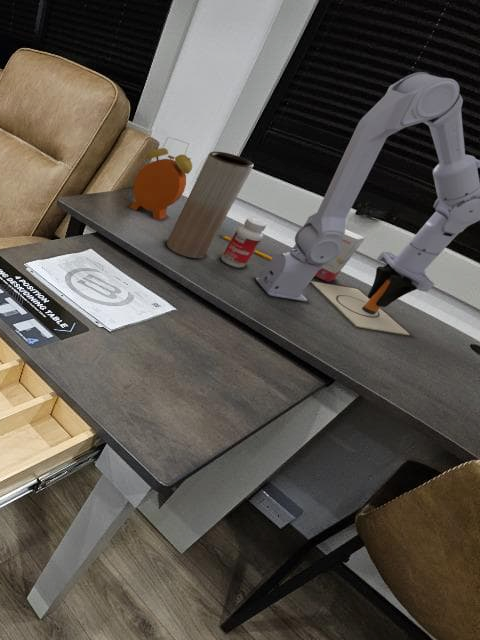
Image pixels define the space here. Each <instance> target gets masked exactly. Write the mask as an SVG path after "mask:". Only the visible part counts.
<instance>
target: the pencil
mask: <svg viewBox="0 0 480 640" xmlns="http://www.w3.org/2000/svg"><path fill="white" fill-rule="evenodd" d="M222 239H223V240H225V241H226V240H227V241H228V242H230V241H231V239H232V237H229V236H227V235H223V236H222ZM253 254H256V255H258V256H260V257H262V258H264V259H267V260H269V261H270V260H271V259H272V258H273V257H272V256H270V255H267V254H265V253H263V252H261V251H259V250H256V249H255V251H254V253H253Z"/></svg>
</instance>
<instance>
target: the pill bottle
mask: <svg viewBox="0 0 480 640" xmlns="http://www.w3.org/2000/svg"><path fill="white" fill-rule="evenodd" d="M243 224H244V225H242V226H239V227H238V228H237V229H236V230H235V233H234V234H233V236H232V237H231V241H229V243H228V244H227V246H226V247H225V250H224V251H223V253H222V255H221V257H220V258H221V261H222V262H224V263H225V264H227V265H228V266H231V267H234V268H240V269H241V268H244V267H246V265H247V263H248V262H249V260H250V259H251V258H252V256H253V254H255V253H254V251H255V250H256V249H257V248H258V246H259V245H260V243H261V242H262V240H263V237H264V234H263V233H262V232H264V231H265V229H266V227H267V223H266V222H265V221H263V220H261V219H259V218H255V217H247V218H246V220H245V221H244V223H243Z"/></svg>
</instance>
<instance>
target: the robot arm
mask: <svg viewBox="0 0 480 640" xmlns="http://www.w3.org/2000/svg"><path fill="white" fill-rule="evenodd" d="M463 102H464V99H463V97H462V95H461V94H460V85H459V83H458V81H456V80H455V79H453V78H449V77H440V76H436V75H432V74H429V73H428V72H424V71H423V72H422V71H418V72H414V73H412V74H409V75H406V76H405V77H404V78H401V79H399V80H398V81H396V82H394V83H393V84H391V85H389V87H388V89H387V91H386V92H385V95H384V96H383V97H382V98H380V100H378V101H377V103H375V105H373V107H371V109H370V110H369V111H368V112H366V113H365V115H363V116H362V118H360V120H359V122H358V123H357V125H356V127H355V130H354V132H353V134H352V136H351V139H350V141H349V143H348V145H347V147H346V149H345V151H344V153H343V156H342V157H341V160H340V162H339V164H338V166H337V168H336V171H335V172H334V175H333V177H332V179H331V181H330V184H329V185H328V188H327V190H326V193H325V194H324V197H323V199H322V201H321V203H320V205H319V207H318V210H317V212H316V213H313V214H312V215H309V216H308V217H307V220H306V221H305V223H304V225H302V226H301V228H299V230H298V231H297V232H296V233H295V236H294V243H295V244H294V245H293V247H291V250H290V251H288V252H278V253H276V254H275V255H274V256H272V257H271V258H272V259H271V260H269V262H268V263H267V265H266V266H265V268H263V270H262V272H261V274H260V275H259V277H255V281H256V282H257V284H258V285H260V286H261V288H262V289H263V290H264V292H266V293H267V295H269V296H270V297H276V298H282V299H288V300H294V301H299V302H307V301H308V299H307V297H305V295H303V292H304V291H305V290H306V288H308V285H310V284H311V281H312V280H313V279H314V277H316V276H315V275H316V273H317V272H318V271H319V269H320V268H321V267H322V266H323V265H324V264H325V263H328V262H330V261H332V260H334V259H335V258H336V257H337V256H338V255H339V254H340V252H341V249H342V238H343V236H344V234H345V229H346V219H347V217H348V216H349V213H350V211H351V209H352V208H353V206H354V203H355V201H356V199H357V198H358V195H359V194H360V191H362V188H363V185H364V184H365V182H366V180H367V179H368V176H369V174H370V172H371V170H372V168H373V166H374V164H375V162H376V160H377V159H378V156H379V154H380V152H381V150H382V148H383V146H384V144H385V142H386V140H387V139H388V138H389V136H391V135H393V134H395V133H397V132H399V131H401V130H403V129H405V128H407V127H411V126H415V125H418V124H421V123H423V124H425V125H426V126H428V128H429V131H430V134H431V138H432V141H433V145H434V148H435V151H436V154H437V159H438V164H437V165H435V167H434V168H433V169H432V177H433V181H434V187H435V190H436V196H437V199H436V200H435V202H434V204H433V209H434V210H435V212H434V213H433V214H432V215H431V216H430V217H429V218H428V220H427V221H426V222H425V223H424V225H423V226H422V227H420V229H419V230H418V232H417V233H415V235H414V236H413V238H411V240H410V241H409V242H408V243H407V244H406V246H405V247H403V249H402V250H401V251H400V252H399V253H398V255H395V254H394V253H392V252H389V251H383V250H382V251H381V253H380V254H379V255H378V257H376V260H378V261H379V262H382V263H383V264H385V265H384V266H381V265H379V266H377V268H375V269H376V270H375V277H374V281H373V283H372V286H371V288H370V290H369V292H368V294H367V295H366V297H368V298H369V299H370V298H371V297H372V296H373V295H374V294H375V293H376V291H377V290H378V289H379V288H380V287H381V286H382V285H383V284H384V282H385V281H386V280H387V279H388V277H389V276H390V275H392V274H393V275H397V276H400V277H402V278H399V277H392V278H391V281H390V284H389V286H388V288H387V289H386V291H385V292H384V294H383V295H382V296H381V297H380V298H379V300H378V301H377V303H376V305H377V306H381V308H387V307H388V306H389V305H391V304H392V303H393V302H395V301H396V300H398V299H400V298H402V296H405V295H407V294H409V293H411V292H414V291H416V290H418V291H421V292H427V293H428V292H429V291H430V290H431V289H433V287H434V286H435V285H436V283H434V281H432V280H431V279H430V278H429V277H428V276H427V274H426V273H427V271H426V269H427V268H428V267H429V266H430V265H431V264H432V263H433V262H434V260H436V258H437V257H438V256H439V255H440V254H441V253H442V252H443V251H444V250H445V249H446V248H447V246H448V245H450V243H452V241H453V240H454V239H455V238H456V237H457V236H458V235H459V234H460V233H463V232H464V230H466V229H467V227H470V226H471V225H473V224H475V223H478V222H479V221H480V177H479V171H478V169H480V159H477V158H476V157H475V156H474V155H472V154H471V155H470V154H466V148H465V138H464V127H463V117H462V116H463V115H462V107H463Z"/></svg>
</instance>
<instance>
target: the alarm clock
mask: <svg viewBox="0 0 480 640" xmlns="http://www.w3.org/2000/svg"><path fill="white" fill-rule="evenodd" d="M169 139H173V140H176V141H180V142H183V143H185V144H187V147H186V150H185V152H184V154H178V155H176V156H173V155H170V154H169V151H168V149H167V148H165V144H166V143H167V141H168V138H166V140H165V142H164V143H163V145H162V147H160V148H159V147H158V146H155V149H153V150H150V151H149V152H148V153H147V155H146V160H151V159H153V158H155V159H156V160H153V161H151V162H149V163H148V164H145V165H144V166H142V167H141V168H140V170H139V171H138V173H137V174H136V176H135V178H134V181H133V185H132V190H133V191H132V192H133V197H134V199H135V201H133V203H132V204H131V205H130V206H129V208H130V209H132V210H134V211H136V210H139V209H141V208H143V209H144V210H147V211H151V212H152V218H153V219H155V220H158V221H161V220H163V219H165V218H166V217H167V211H168V210H167V209H168V207H170V206H172V205H174V204H175V203H176V202H178V201H179V199H180V198H181V197H182V195H183V194H184V192H185V189H186V186H187V175H188V174H190V173H191V171H192V169H193V163H192V160H191V157H188V156H187V155H186V153H187V151H188V148H189V145H190V143H187V142H185V141H183V140H180V139H177V138H174V137H171V136H169ZM165 155H168V156H167V158H161V159H159V157H161V156H165Z"/></svg>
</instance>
